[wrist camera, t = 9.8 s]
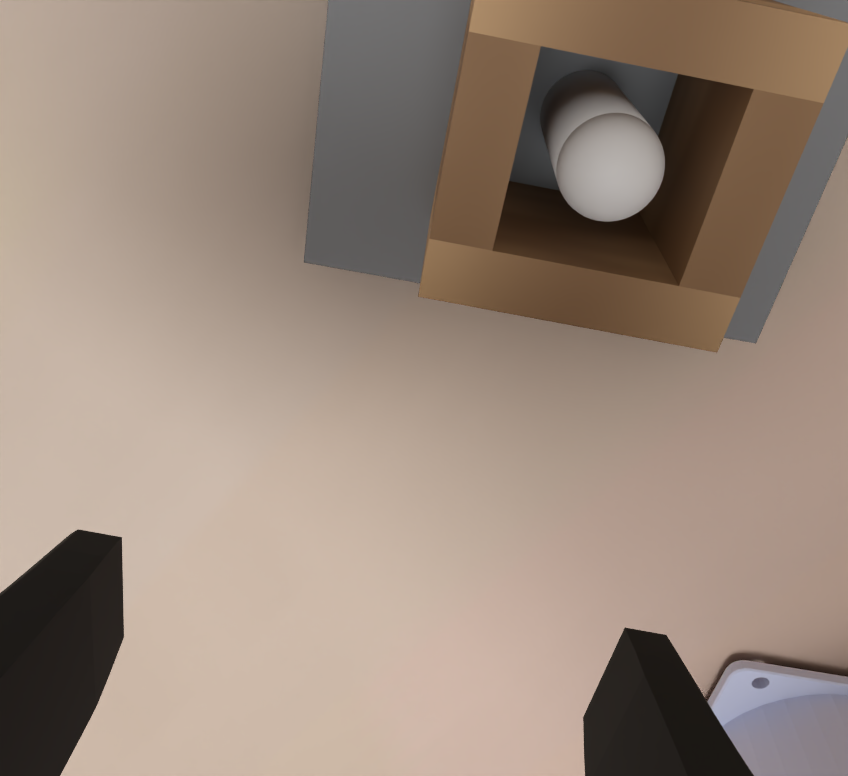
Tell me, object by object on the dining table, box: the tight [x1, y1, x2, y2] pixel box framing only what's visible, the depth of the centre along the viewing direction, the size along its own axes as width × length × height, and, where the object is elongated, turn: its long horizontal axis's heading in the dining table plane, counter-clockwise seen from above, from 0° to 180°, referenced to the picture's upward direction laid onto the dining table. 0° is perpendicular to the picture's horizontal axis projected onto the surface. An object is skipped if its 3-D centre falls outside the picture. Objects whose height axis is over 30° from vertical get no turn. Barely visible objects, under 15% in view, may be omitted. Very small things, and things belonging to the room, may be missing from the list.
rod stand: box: [304, 0, 848, 343], centre depth 14 cm, size 10×8×6 cm
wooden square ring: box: [418, 0, 848, 352], centre depth 13 cm, size 5×5×4 cm
